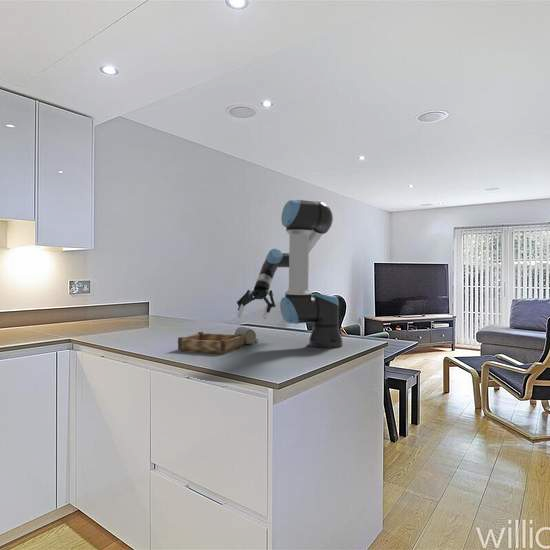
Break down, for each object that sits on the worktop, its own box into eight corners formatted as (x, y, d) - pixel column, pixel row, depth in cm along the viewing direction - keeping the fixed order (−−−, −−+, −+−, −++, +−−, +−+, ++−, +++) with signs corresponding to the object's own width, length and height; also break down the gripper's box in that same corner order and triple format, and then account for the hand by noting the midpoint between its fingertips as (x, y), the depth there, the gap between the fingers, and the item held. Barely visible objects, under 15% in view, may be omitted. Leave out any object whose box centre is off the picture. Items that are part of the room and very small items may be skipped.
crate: (243, 346, 177) (243, 334, 177) (224, 354, 160) (224, 340, 160) (200, 343, 185) (200, 331, 185) (178, 350, 168) (178, 337, 168)
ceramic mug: (245, 345, 179) (245, 328, 179) (233, 343, 185) (234, 327, 185) (262, 343, 186) (262, 327, 187) (251, 341, 192) (251, 325, 193)
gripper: (287, 289, 205) (277, 322, 191) (243, 289, 214) (230, 320, 200) (283, 279, 200) (273, 312, 186) (239, 279, 209) (226, 310, 195)
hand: (251, 316), depth 193 cm, fingers open, 13 cm apart
